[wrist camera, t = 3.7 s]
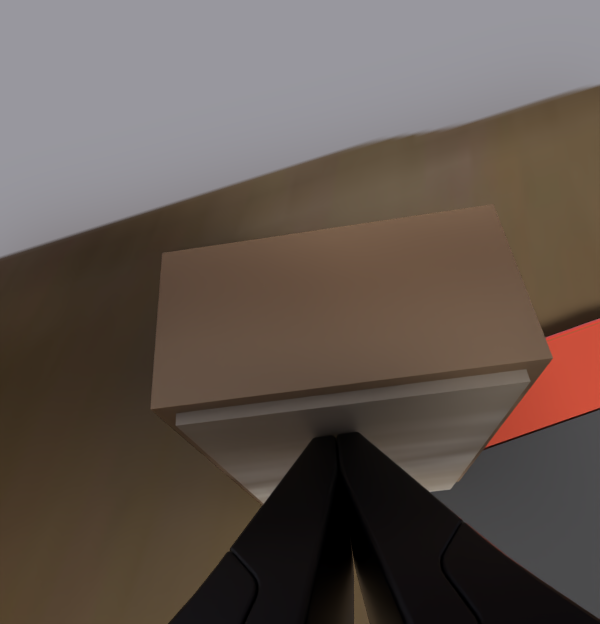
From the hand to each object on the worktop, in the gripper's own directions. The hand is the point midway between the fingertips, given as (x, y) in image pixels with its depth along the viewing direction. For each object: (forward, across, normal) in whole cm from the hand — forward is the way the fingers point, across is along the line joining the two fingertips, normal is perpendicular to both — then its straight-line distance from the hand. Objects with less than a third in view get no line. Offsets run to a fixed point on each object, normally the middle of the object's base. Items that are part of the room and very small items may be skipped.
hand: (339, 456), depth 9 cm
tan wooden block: (+6, 0, +4) cm, 7 cm away
